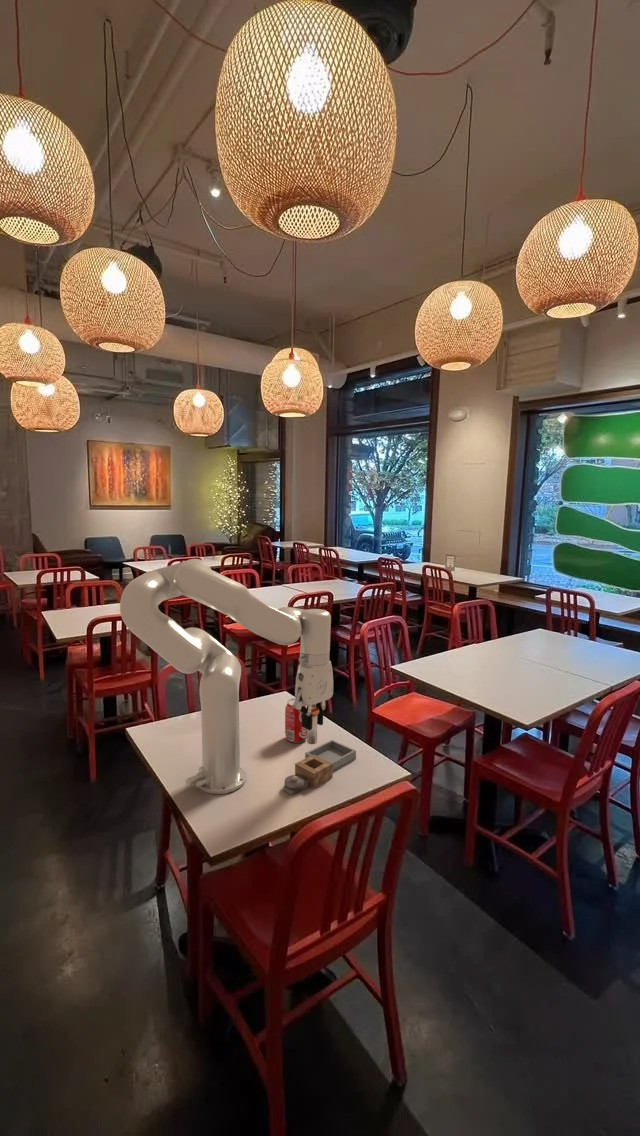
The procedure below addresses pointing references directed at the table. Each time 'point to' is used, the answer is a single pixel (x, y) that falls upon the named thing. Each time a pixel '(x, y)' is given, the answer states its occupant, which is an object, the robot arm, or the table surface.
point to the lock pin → (313, 726)
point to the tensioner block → (308, 774)
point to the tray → (333, 753)
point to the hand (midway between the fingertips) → (312, 725)
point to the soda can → (294, 723)
